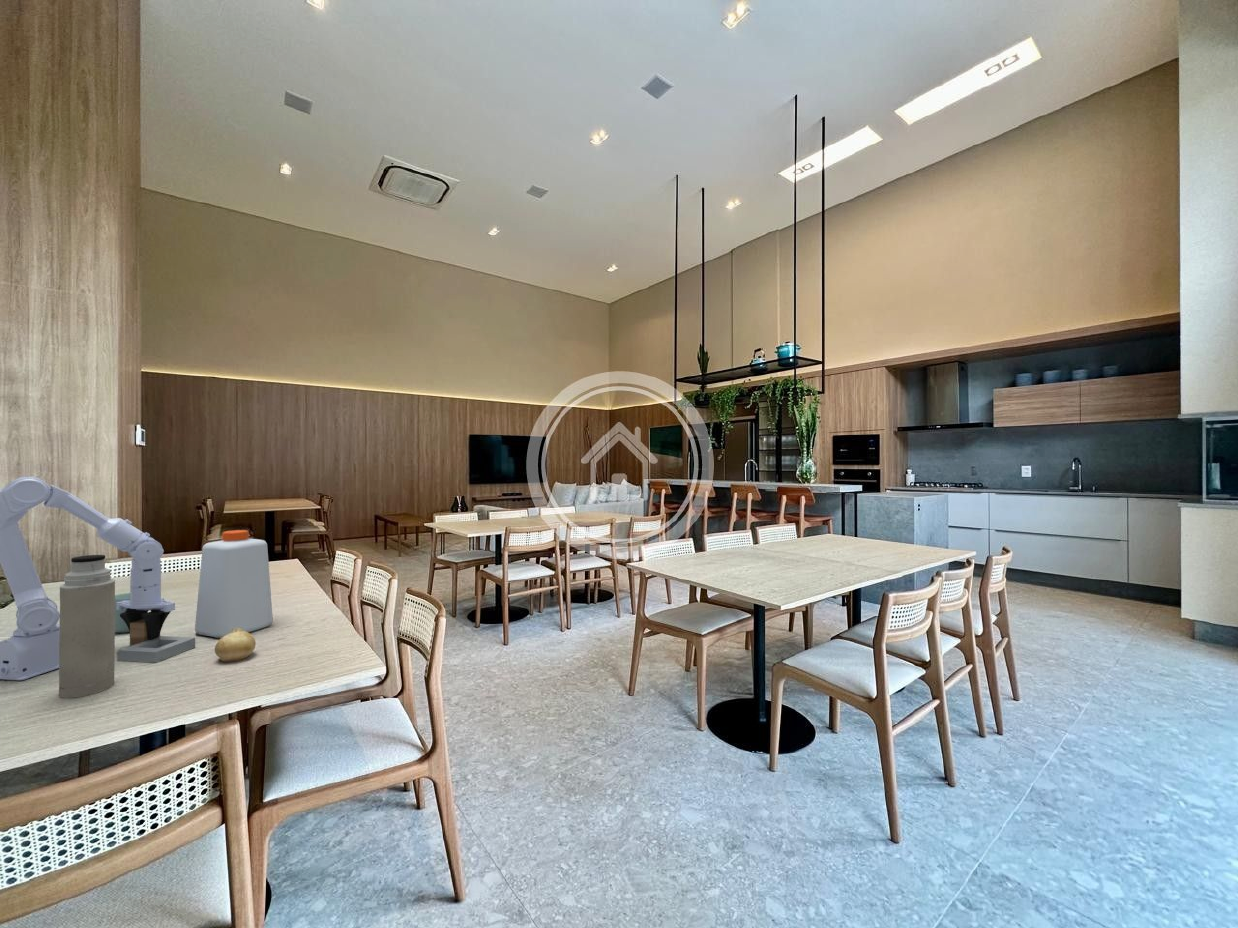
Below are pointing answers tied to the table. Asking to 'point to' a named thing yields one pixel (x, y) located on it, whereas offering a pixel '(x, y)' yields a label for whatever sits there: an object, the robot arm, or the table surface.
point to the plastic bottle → (233, 586)
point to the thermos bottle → (86, 628)
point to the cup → (119, 622)
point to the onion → (235, 645)
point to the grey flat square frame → (156, 649)
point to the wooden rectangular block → (138, 632)
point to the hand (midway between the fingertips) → (145, 638)
